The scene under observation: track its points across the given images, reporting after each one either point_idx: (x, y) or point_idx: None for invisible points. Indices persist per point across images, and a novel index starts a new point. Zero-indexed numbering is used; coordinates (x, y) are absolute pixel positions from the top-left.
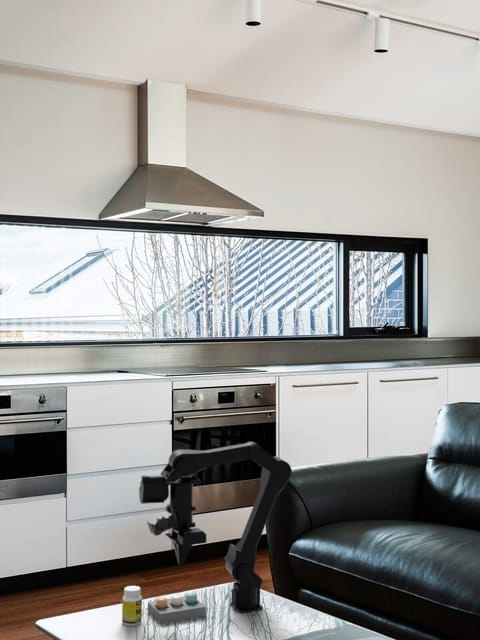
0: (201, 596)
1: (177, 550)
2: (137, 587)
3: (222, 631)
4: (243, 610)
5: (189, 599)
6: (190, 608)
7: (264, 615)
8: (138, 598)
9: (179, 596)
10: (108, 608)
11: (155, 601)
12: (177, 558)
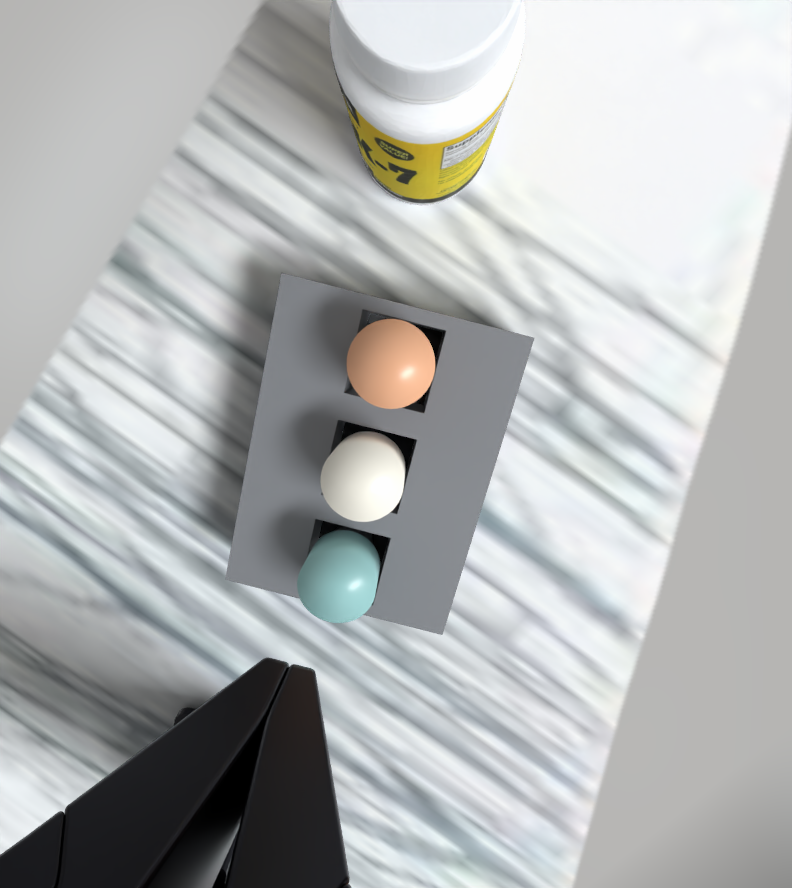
0: (508, 711)
1: (94, 866)
2: (414, 30)
3: (23, 489)
4: (174, 725)
5: (319, 546)
6: (252, 491)
7: (101, 761)
8: (335, 43)
9: (357, 503)
10: (755, 150)
11: (504, 387)
12: (283, 713)
